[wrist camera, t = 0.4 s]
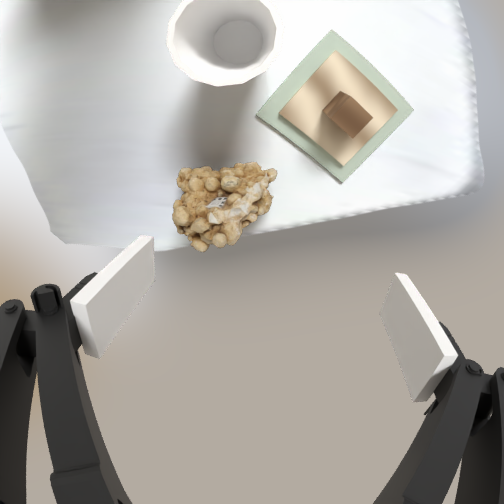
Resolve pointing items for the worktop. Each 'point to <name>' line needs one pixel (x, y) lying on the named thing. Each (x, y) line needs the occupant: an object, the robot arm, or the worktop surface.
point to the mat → (302, 75)
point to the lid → (339, 108)
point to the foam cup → (224, 39)
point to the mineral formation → (221, 202)
